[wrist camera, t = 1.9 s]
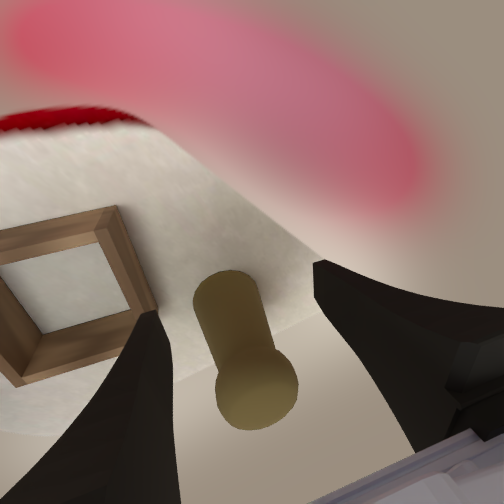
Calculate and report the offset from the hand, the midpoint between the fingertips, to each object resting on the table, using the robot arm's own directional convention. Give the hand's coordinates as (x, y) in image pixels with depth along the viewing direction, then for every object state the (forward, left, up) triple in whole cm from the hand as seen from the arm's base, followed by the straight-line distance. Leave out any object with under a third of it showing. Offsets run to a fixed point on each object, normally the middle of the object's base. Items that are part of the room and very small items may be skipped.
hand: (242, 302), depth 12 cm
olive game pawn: (0, -8, -11) cm, 13 cm away
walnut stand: (-10, -2, -10) cm, 15 cm away
